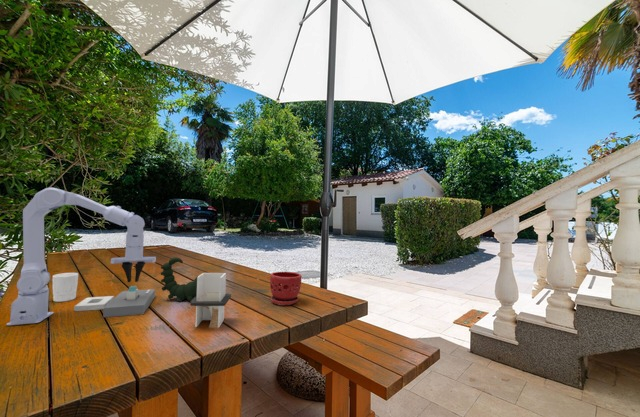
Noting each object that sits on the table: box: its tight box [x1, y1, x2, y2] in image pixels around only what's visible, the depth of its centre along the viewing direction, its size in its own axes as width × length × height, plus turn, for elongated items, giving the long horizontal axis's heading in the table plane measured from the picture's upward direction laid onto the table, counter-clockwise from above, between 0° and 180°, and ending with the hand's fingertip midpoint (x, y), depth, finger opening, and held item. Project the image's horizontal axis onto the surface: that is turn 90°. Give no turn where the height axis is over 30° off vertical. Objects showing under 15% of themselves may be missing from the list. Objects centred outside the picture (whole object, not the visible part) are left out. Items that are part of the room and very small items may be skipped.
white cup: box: [52, 272, 79, 303], centre depth 115 cm, size 8×8×10 cm
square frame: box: [73, 295, 115, 312], centre depth 109 cm, size 11×9×2 cm
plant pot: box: [269, 271, 302, 306], centre depth 120 cm, size 13×13×12 cm
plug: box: [127, 285, 139, 300], centre depth 110 cm, size 4×3×7 cm, turn 21°
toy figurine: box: [160, 256, 201, 302], centre depth 119 cm, size 9×19×25 cm
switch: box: [102, 288, 156, 318], centre depth 110 cm, size 22×12×4 cm, turn 21°
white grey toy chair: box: [189, 272, 232, 329], centre depth 95 cm, size 25×24×16 cm
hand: (133, 281), depth 110 cm, fingers closed
